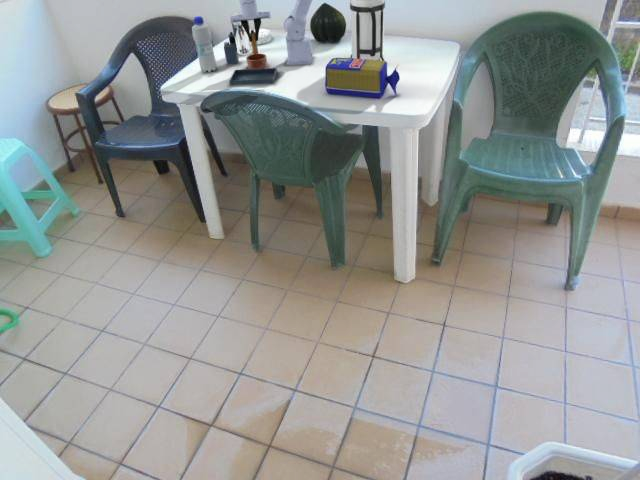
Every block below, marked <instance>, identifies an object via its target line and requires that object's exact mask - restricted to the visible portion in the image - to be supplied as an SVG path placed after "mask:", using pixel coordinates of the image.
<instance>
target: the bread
mask: <svg viewBox="0 0 640 480" xmlns="http://www.w3.org/2000/svg"><path fill="white" fill-rule="evenodd" d="M398 66H399V64H397V65H396V67H395V68H394V69H393V71H392V73H391V74H390V75H388V62H387V61H386V60H385V61H382V60H381V59H379V60H369V59H354V58H351V57H333V58H331V59H330V61H328V63H327V64H326V65H325V73H324V74H325V76H324V77H325V78H324V81H325V82H324V88H325V92H326V93H327V94H328V95H335V96H346V97H347V96H349V97H360V98H369V99H381V98H382V97H383V95H384V94H385V92H386V90H387V89H388V85H389V86H390V88H391V89H392V91H393V93H394V94H395V96H397V95H398V94H397V85H398V83H399V81H400V80H401V77H400V74H399V72H398V71H397V68H398Z"/></svg>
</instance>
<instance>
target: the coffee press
mask: <svg viewBox="0 0 640 480" xmlns="http://www.w3.org/2000/svg"><path fill="white" fill-rule="evenodd" d="M385 8H386V0H350V1H349V9H350V29H351V30H350V36H351V37H350V38H351V41H350V42H351V54H350V58H354V59H369V60H382V61H386V60H385V59H384V49H385V48H384V46H385V45H384V43H385Z"/></svg>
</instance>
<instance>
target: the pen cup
mask: <svg viewBox="0 0 640 480" xmlns="http://www.w3.org/2000/svg"><path fill="white" fill-rule="evenodd" d="M246 66H247V69H268V67H269V65H268V58H267V55H266V54H264V53H261V52H260V53H259V52H258V54H253V53H251V54H248V55H247V56H246Z"/></svg>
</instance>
